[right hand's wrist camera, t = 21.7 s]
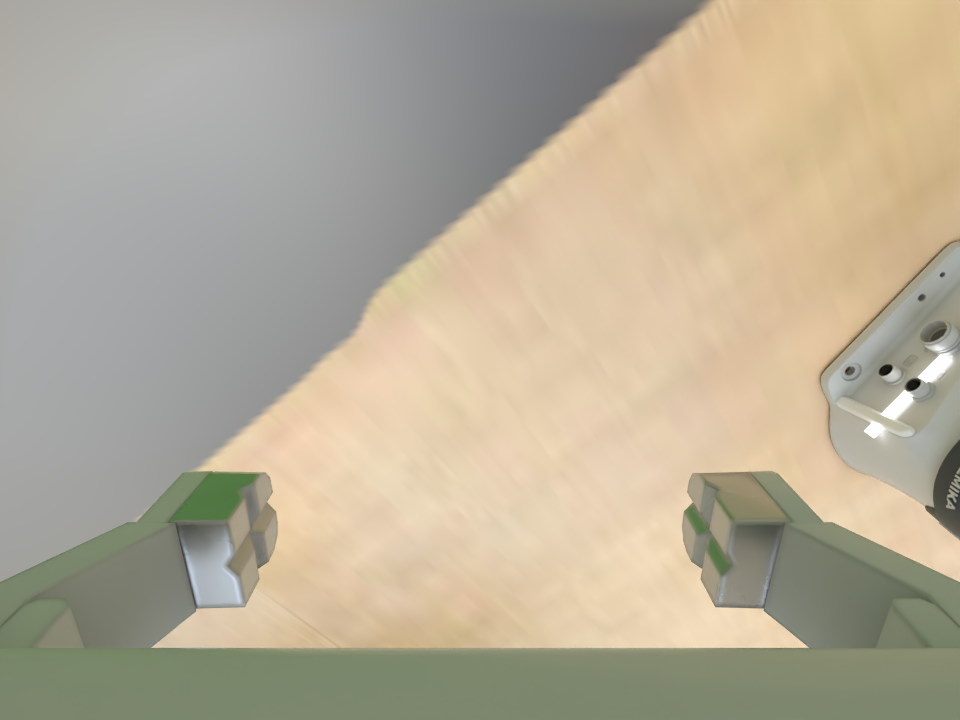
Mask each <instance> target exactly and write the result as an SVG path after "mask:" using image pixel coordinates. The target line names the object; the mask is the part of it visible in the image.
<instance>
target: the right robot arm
mask: <svg viewBox="0 0 960 720" xmlns="http://www.w3.org/2000/svg"><path fill="white" fill-rule="evenodd" d="M848 367H850V369H849V370H848V371H847V372H845V370H846V369H847V368H848ZM821 387H822V390H823V392H824V394H825V396H826V399H827V400H828V402H829V406H830V419H829V430H830V437H831V441H832V444H833V446H834V448H835V450H836V452H837V454H838V455H839V457H840V458H841V459H842V460H843V461H844V462H845V463H846V464H847V465H848V466H850V467H851V468H853V469H854V470H856V471H858V472H860V473H862V474H865V475H868V476H871V477H873V478H876V479H878V480H880V481H882V482H884V483H887V484H888V485H890V486H892V487H894V488H896V489H898V490H899V491H901V492H903V493H904V494H906V495H908V496H909V497H911V498H913V499H914V500H916V501H918V502H919V503H921V504H922V505H924V506H925V508H926V510H927V511H928V512H929V513H930V514H931V515H932V516H933V517H935V518H936V519H937V520H938V521H939V524H941V525H942V526H943V527H944V528H945V529H947V530H948V531H949V532H950V533H951V534H953V535H954V536H955V537H956V538H958V539H959V540H960V241H957V242H953V243H951V244H949V245H948V246H947V247H946V248H945V249H943V250H942V251H941V252H940V253H939V254H938V255H937V256H936V257H935V258H934V259H933V261H932V262H931V263H930V264H929V265H928V266H927V267H926V268H925V269H924V270H923V271H922V272H921V273H920V274H919V275H918V276H917V277H916V278H915V279H914V280H913V281H912V282H911V283H910V284H909V285H908V286H907V287H906V288H905V289H904V290H903V291H902V292H901V293H900V294H899V295H898V296H897V297H896V298H895V299H894V300H893V301H892V302H891V303H890V304H889V305H888V306H887V307H886V309H885V310H884V311H883V312H882V313H881V314H880V315H879V316H878V317H877V318H876V319H875V320H874V321H873V322H872V323H871V324H870V325H869V326H868V327H867V328H866V329H865V330H864V331H863V332H862V333H861V334H860V335H859V336H858V337H857V338H856V339H855V340H854V341H853V342H852V343H851V344H850V345H849V346H848V347H847V348H846V349H845V350H844V351H843V352H842V353H841V354H840V355H839V357H838V358H837V359H836V360H835V361H834V362H833V363H832V364H831V365H830V366H829V367H828V368H827V369H826V370H825V371H824V372H823V374H822V376H821ZM272 493H273V490H272V485H271V480H270V477H269V476H268V475H267V474H266V473H263V472H212V471H191V472H186V473H182V474H181V475H180V477H179V478H178V479H177V480H176V481H175V482H174V483H173V484H172V485H171V486H170V487H169V488H168V489H167V490H166V491H165V492H164V494H163V495H162V496H161V497H160V498H159V499H158V500H157V501H156V502H155V503H154V504H153V505H152V506H151V507H150V508H149V509H148V511H147V512H146V513H145V514H144V515H143V516H142V517H141V518H140V519H139V520H138V521H137V522H128V523H125V524H123V525H121V526H119V527H117V528H115V529H113V530H111V531H108V532H106V533H104V534H102V535H100V536H98V537H96V538H93V539H91V540H89V541H87V542H85V543H83V544H81V545H79V546H76V547H74V548H72V549H70V550H68V551H66V552H64V553H61V554H59V555H57V556H55V557H53V558H51V559H49V560H46V561H44V562H42V563H40V564H38V565H36V566H34V567H32V568H29V569H27V570H25V571H23V572H21V573H19V574H17V575H15V576H12V577H10V578H8V579H6V580H4V581H2V582H0V720H960V582H958V581H956V580H954V579H952V578H949V577H947V576H945V575H943V574H941V573H939V572H937V571H935V570H932V569H930V568H928V567H926V566H924V565H922V564H920V563H918V562H915V561H913V560H911V559H909V558H907V557H905V556H903V555H901V554H898V553H896V552H894V551H892V550H890V549H888V548H886V547H883V546H881V545H879V544H877V543H875V542H873V541H871V540H869V539H866V538H864V537H862V536H860V535H858V534H856V533H854V532H852V531H849V530H847V529H845V528H843V527H841V526H839V525H837V524H835V523H832V522H823V521H822V520H821V519H820V518H819V517H818V516H817V515H816V514H815V513H814V512H813V510H812V509H811V508H810V507H809V506H808V505H807V504H806V503H805V502H804V501H803V500H802V499H801V498H800V497H799V496H798V495H797V493H796V492H795V491H794V490H793V489H792V488H791V487H790V486H789V485H788V484H787V483H786V482H785V481H784V480H783V479H782V477H781V476H780V475H779V474H777V473H775V472H773V471H757V472H731V473H693V474H692V476H691V478H690V480H689V484H688V490H687V493H688V494H689V496H690V498H691V499H692V501H693V503H692V504H691V505H690V506H689V507H688V508H687V509H686V510H685V511H684V516H683V524H682V531H683V541H684V545H685V548H686V551H687V554H688V556H689V558H690V560H691V562H693V563H694V564H696V565H697V566H699V567H700V568H702V574H701V581H702V583H703V585H704V587H705V588H706V590H707V592H708V594H709V596H710V598H711V600H712V602H713V604H714V606H715V607H729V608H764V611H765V612H766V613H767V614H768V615H770V616H771V617H772V618H773V619H775V620H776V621H777V622H778V623H780V624H781V625H782V626H783V627H785V628H786V629H787V630H788V631H789V632H791V633H792V634H793V635H794V636H796V637H797V638H798V639H799V640H801V641H802V642H803V643H804V644H806V645H807V646H808V647H809V648H151V647H152V646H153V645H155V644H156V643H157V642H158V641H160V640H161V639H162V638H163V637H165V636H166V635H167V634H168V633H169V632H171V631H172V630H173V629H174V628H176V627H177V626H178V625H179V624H181V623H182V622H183V621H184V620H186V619H187V618H188V617H189V616H191V615H192V614H193V613H194V612H195V611H196V608H230V607H245V606H246V604H247V602H248V600H249V598H250V596H251V594H252V592H253V590H254V589H255V587H256V585H257V583H258V581H259V574H258V568H260V567H261V566H263V565H264V564H266V563H267V562H269V560H270V558H271V555H272V553H273V551H274V548H275V544H276V539H277V533H278V522H277V515H276V511H275V510H274V509H273V508H272V507H271V506H270V505H269V504H268V503H267V501H268V499H269V498H270V496H271V494H272Z"/></svg>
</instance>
